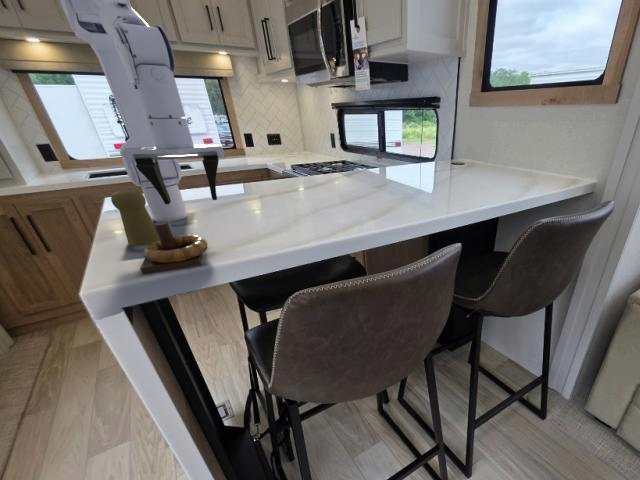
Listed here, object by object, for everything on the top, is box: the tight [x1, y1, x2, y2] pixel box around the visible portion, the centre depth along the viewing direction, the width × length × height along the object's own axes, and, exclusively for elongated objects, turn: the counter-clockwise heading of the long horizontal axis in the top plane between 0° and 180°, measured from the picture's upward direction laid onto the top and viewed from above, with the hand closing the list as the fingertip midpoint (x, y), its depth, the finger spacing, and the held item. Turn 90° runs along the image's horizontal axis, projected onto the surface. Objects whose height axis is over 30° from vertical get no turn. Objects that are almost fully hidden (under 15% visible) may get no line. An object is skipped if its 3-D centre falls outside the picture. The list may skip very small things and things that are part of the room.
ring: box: [143, 234, 208, 263], centre depth 61 cm, size 10×10×2 cm
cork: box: [110, 189, 159, 247], centre depth 65 cm, size 6×6×11 cm
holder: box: [139, 221, 203, 275], centre depth 60 cm, size 9×9×7 cm
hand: (192, 200), depth 61 cm, fingers open, 7 cm apart
